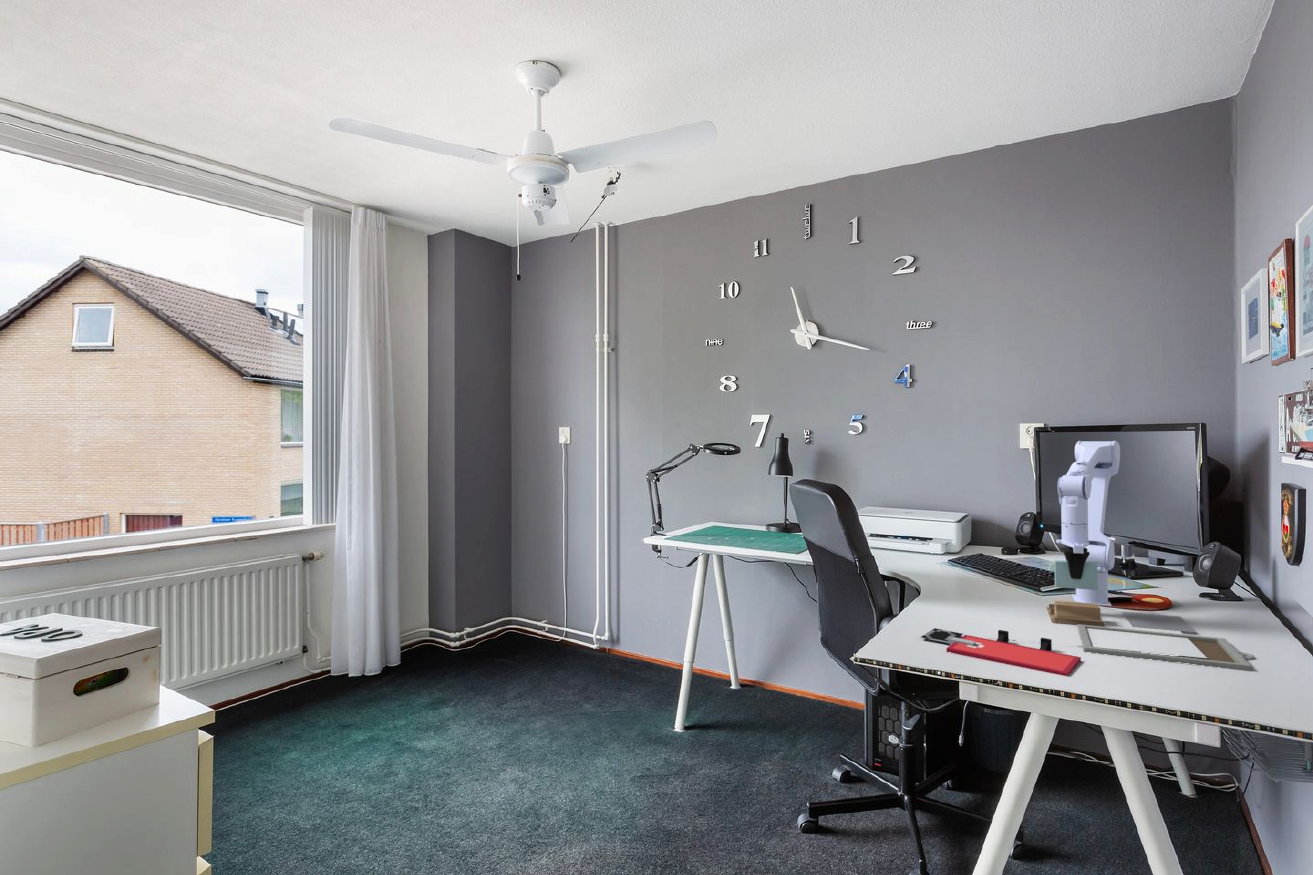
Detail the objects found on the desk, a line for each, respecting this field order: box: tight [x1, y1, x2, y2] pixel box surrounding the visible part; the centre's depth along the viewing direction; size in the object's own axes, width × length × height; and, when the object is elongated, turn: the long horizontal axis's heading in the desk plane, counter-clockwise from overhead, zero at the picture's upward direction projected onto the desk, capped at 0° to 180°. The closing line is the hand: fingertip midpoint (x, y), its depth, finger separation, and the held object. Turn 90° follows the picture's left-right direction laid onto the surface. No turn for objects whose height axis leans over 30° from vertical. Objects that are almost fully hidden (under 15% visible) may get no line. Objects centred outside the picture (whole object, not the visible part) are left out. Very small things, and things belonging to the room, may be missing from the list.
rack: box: [1046, 603, 1107, 627], centre depth 168 cm, size 16×11×2 cm
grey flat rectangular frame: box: [1076, 624, 1256, 672], centre depth 146 cm, size 19×2×30 cm
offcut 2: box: [1055, 603, 1101, 621], centre depth 164 cm, size 2×9×4 cm, turn 65°
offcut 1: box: [1053, 599, 1100, 616], centre depth 166 cm, size 2×9×4 cm, turn 65°
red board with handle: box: [920, 628, 1082, 677], centre depth 146 cm, size 30×3×15 cm
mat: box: [1121, 611, 1198, 635], centre depth 163 cm, size 14×12×1 cm
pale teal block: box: [1054, 559, 1098, 590], centre depth 172 cm, size 2×9×6 cm, turn 65°
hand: (1075, 577), depth 172 cm, fingers closed on pale teal block, 2 cm apart
